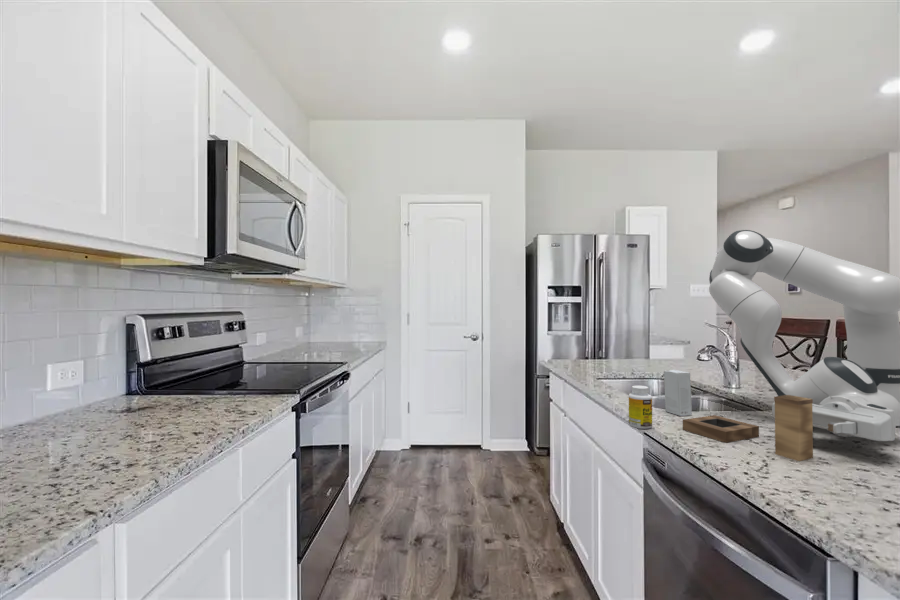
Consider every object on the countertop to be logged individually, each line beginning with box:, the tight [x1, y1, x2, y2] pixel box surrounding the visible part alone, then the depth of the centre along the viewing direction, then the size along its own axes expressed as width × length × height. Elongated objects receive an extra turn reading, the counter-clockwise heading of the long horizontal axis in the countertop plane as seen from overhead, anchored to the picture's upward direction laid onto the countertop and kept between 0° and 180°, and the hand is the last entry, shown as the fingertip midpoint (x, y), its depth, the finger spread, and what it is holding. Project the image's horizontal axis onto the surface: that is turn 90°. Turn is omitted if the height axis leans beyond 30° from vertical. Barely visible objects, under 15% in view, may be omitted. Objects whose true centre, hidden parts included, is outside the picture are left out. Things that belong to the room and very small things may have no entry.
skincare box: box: [663, 369, 693, 417], centre depth 127 cm, size 6×4×12 cm
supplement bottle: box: [628, 385, 653, 430], centre depth 114 cm, size 6×6×10 cm
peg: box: [773, 395, 814, 462], centre depth 92 cm, size 5×5×12 cm
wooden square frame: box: [682, 414, 760, 443], centre depth 108 cm, size 11×11×2 cm
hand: (805, 422), depth 93 cm, fingers open, 8 cm apart
